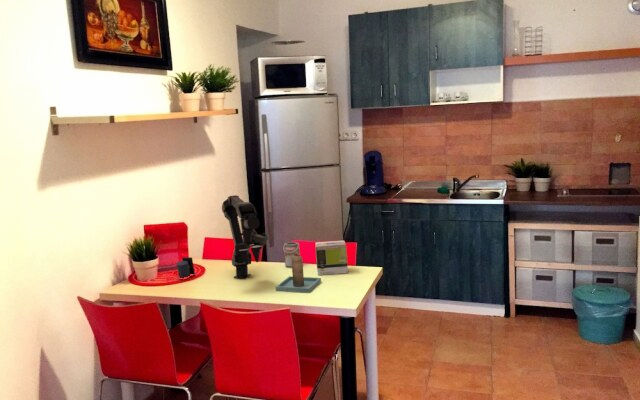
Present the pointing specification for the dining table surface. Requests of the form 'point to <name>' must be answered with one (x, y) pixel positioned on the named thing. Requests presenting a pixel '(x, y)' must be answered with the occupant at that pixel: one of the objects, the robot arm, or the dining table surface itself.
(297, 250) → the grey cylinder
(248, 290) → the dining table surface
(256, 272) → the dining table surface
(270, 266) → the dining table surface
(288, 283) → the tray
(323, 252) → the tea box
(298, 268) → the pepper mill
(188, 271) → the speaker
